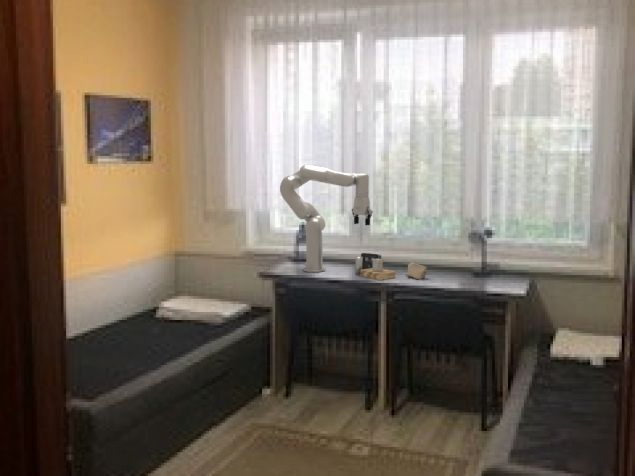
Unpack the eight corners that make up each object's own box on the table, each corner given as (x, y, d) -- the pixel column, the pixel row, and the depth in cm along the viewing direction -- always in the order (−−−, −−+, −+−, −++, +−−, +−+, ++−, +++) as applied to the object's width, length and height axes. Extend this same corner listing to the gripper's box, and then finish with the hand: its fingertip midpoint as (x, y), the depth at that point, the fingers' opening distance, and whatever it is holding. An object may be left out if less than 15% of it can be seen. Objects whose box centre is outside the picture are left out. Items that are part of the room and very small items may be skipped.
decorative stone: (410, 275, 394) (410, 261, 393) (429, 278, 383) (429, 264, 382) (400, 276, 389) (400, 262, 388) (419, 280, 378) (419, 266, 377)
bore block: (360, 275, 391) (360, 269, 391) (375, 273, 399) (376, 267, 398) (379, 280, 379) (379, 273, 378) (395, 277, 386) (395, 271, 386)
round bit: (353, 273, 398) (354, 256, 396) (359, 273, 400) (359, 256, 398) (357, 275, 394) (358, 257, 393) (363, 274, 396) (364, 257, 395)
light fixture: (385, 270, 412) (386, 252, 411) (376, 272, 401) (377, 254, 400) (369, 269, 417) (369, 251, 416) (359, 271, 406) (360, 253, 405)
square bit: (372, 276, 389) (372, 259, 388) (377, 275, 391) (377, 258, 390) (377, 277, 386) (377, 260, 385) (382, 276, 388) (382, 259, 387)
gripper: (347, 194, 401) (347, 223, 403) (367, 196, 387) (367, 226, 390) (357, 194, 405) (357, 222, 408) (377, 195, 392) (376, 225, 394)
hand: (361, 224), depth 399 cm, fingers open, 9 cm apart
